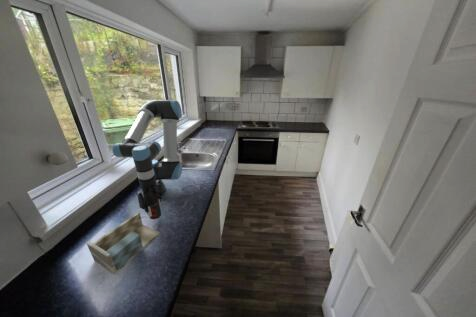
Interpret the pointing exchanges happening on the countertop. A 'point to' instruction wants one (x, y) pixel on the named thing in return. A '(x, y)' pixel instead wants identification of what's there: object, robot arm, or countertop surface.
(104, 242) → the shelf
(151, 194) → the deodorant
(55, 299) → the countertop surface
